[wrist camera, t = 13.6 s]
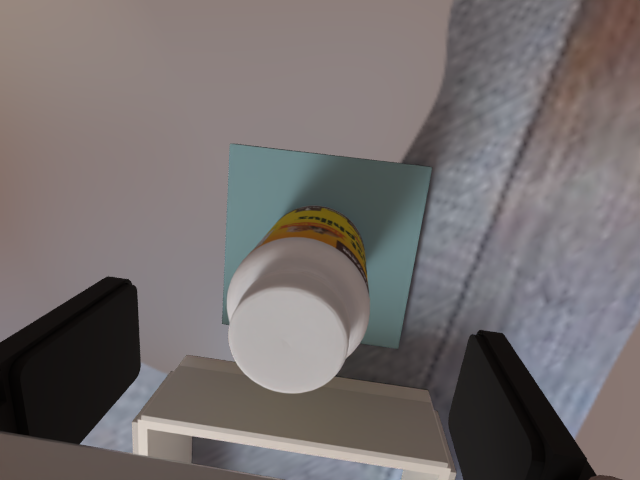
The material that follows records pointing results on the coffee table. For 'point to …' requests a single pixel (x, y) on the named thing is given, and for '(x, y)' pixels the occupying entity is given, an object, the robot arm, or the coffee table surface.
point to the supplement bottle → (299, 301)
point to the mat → (343, 196)
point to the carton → (294, 419)
